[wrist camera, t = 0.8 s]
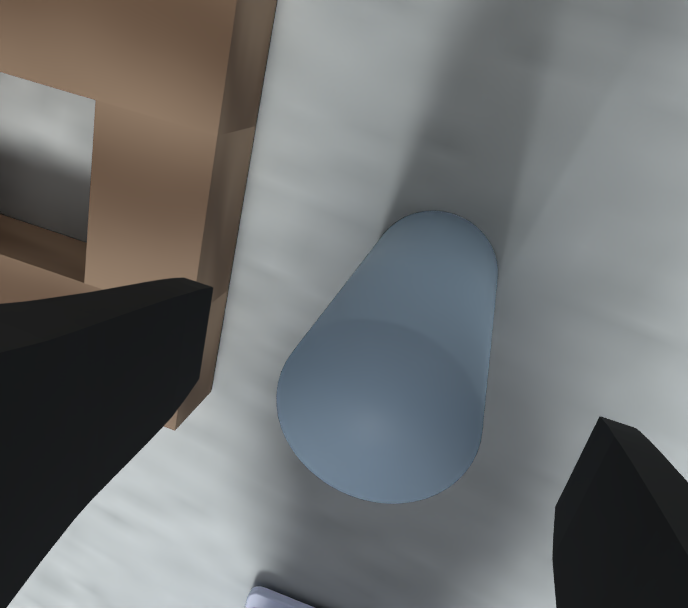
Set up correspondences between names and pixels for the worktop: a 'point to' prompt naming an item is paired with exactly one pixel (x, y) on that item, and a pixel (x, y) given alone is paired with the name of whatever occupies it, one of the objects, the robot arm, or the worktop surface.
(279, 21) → the worktop surface
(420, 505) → the worktop surface
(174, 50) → the socket block
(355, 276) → the peg
